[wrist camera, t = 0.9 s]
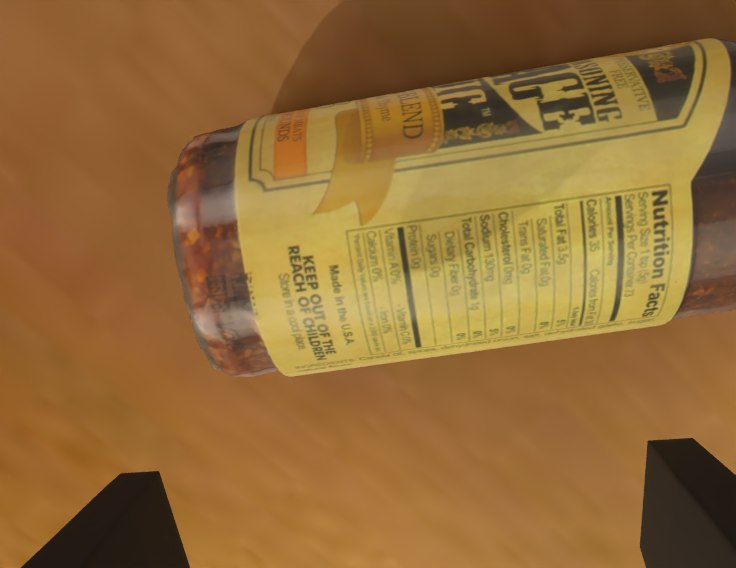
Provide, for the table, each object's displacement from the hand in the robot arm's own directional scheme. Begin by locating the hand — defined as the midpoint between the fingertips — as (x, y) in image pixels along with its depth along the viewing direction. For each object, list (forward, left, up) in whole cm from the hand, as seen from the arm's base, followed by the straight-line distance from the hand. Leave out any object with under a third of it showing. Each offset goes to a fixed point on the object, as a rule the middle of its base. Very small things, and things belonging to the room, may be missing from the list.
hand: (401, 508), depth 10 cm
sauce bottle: (+2, +5, -7) cm, 9 cm away
